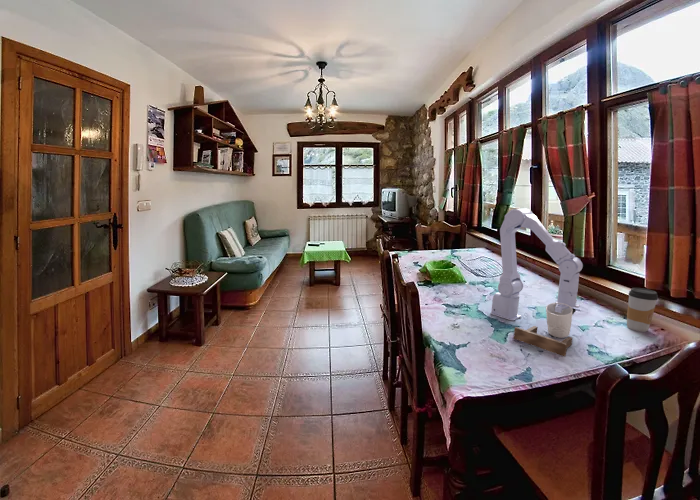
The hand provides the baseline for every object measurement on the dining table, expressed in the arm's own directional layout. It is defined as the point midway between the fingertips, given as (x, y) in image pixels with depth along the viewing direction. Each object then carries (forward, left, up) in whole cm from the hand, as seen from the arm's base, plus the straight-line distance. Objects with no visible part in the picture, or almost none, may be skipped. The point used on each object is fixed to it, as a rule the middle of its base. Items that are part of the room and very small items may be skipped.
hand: (563, 326), depth 123 cm
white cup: (0, -3, -1) cm, 4 cm away
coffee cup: (+16, +27, -2) cm, 32 cm away
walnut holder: (0, -14, -2) cm, 14 cm away
